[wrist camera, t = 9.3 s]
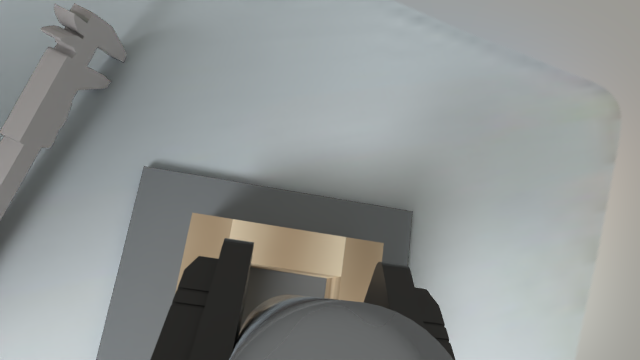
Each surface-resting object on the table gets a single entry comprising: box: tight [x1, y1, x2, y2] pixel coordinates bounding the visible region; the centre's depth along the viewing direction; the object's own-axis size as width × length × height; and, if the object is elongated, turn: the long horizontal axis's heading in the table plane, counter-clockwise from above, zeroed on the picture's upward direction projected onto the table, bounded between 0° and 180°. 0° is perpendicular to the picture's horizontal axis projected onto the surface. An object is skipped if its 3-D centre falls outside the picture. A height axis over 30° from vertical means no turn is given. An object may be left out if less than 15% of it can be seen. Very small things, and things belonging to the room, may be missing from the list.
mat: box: [96, 166, 413, 360], centre depth 23 cm, size 15×16×1 cm
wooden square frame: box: [175, 213, 384, 302], centre depth 21 cm, size 9×9×4 cm
